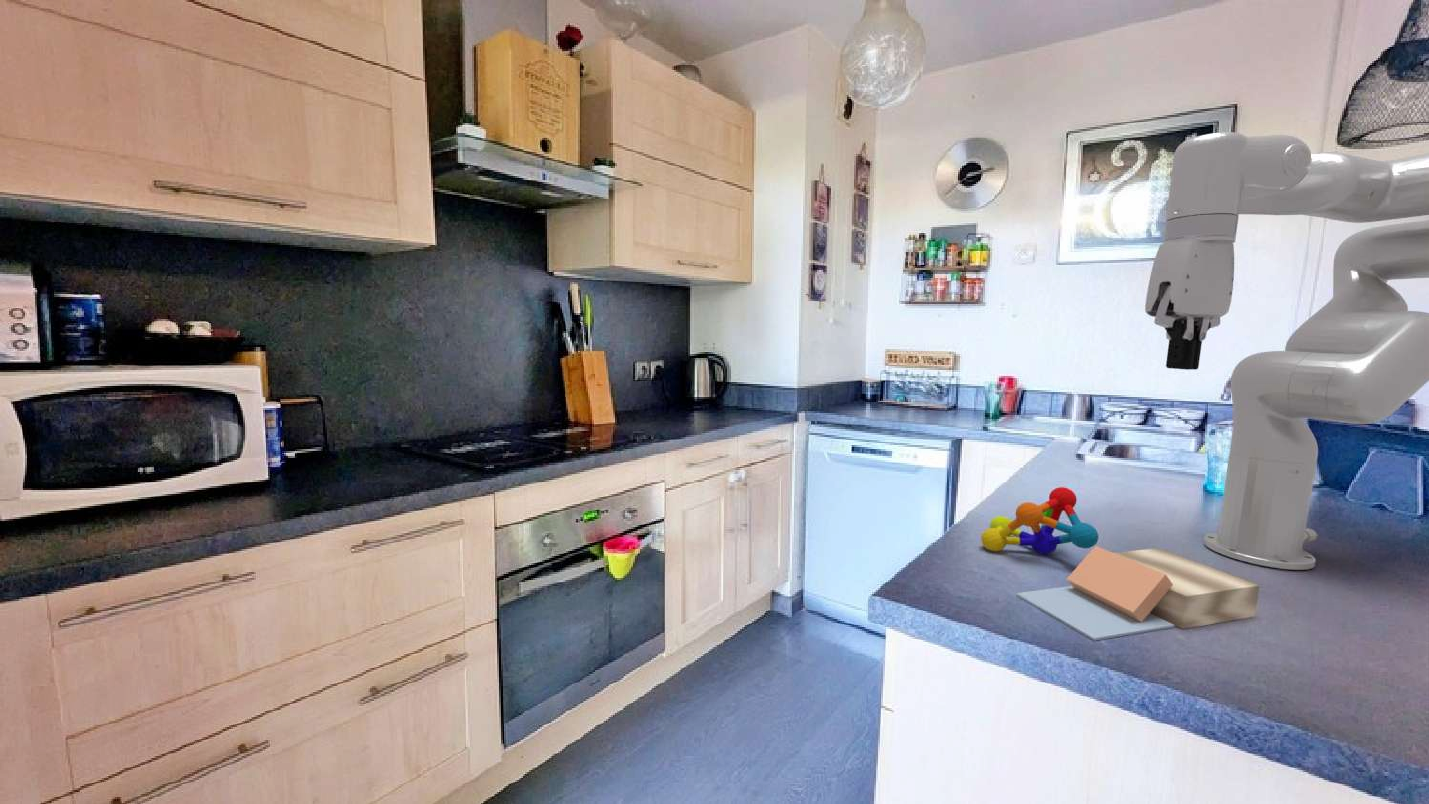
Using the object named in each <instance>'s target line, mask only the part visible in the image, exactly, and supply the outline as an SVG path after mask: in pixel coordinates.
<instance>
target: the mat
mask: <svg viewBox="0 0 1429 804" xmlns="http://www.w3.org/2000/svg"><path fill="white" fill-rule="evenodd" d="M1015 596H1016V597H1018V598H1020V599H1022V600H1023V601H1024V602H1026V603H1028V604H1029V605H1031V606H1033V607H1035V608H1037V609H1038V610H1040V611H1042V612H1044V613H1045V614H1047V615H1049V616H1050V617H1052V618H1054V619H1056V620H1057V621H1059V622H1060V623H1062V624H1064V625H1066V626H1068V627H1069V628H1072V630H1074V631H1076V632H1078V633H1080V634H1081V635H1082V636H1084V637H1086V638H1088V639H1090V640H1091V641H1094V642H1095V641H1101V640H1107V639H1113V638H1119V637H1124V636H1125V637H1126V636H1131V635H1137V634H1142V633H1148V632H1155V631H1162V630H1167V629H1172V628H1173V629H1174V628H1175V625H1174V624H1172V623H1169V622H1167V621H1165V620H1163V619H1161V618H1159V617H1157V616H1155V615H1153V614H1151V613H1149V614H1148V615H1147V616H1146V617H1145V619H1144V620H1143V621H1142V622H1139V621H1137V620H1135V619H1133V618H1131V617H1129V616H1127V615H1125V614H1123V613H1121V612H1119V611H1117V610H1115V609H1113V608H1111V607H1110V606H1108V605H1106V604H1104V603H1102V602H1100V601H1098V600H1096V599H1094V598H1092V597H1090V596H1088V595H1086V594H1084V593H1082V592H1080V591H1078V590H1076V589H1074V588H1073V587H1072V585H1068V586H1067V585H1066V586H1060V587H1059V586H1058V587H1054V588H1045V589H1039V590H1038V589H1037V590H1031V591H1030V590H1029V591H1023V592H1016V593H1015Z"/></svg>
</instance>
